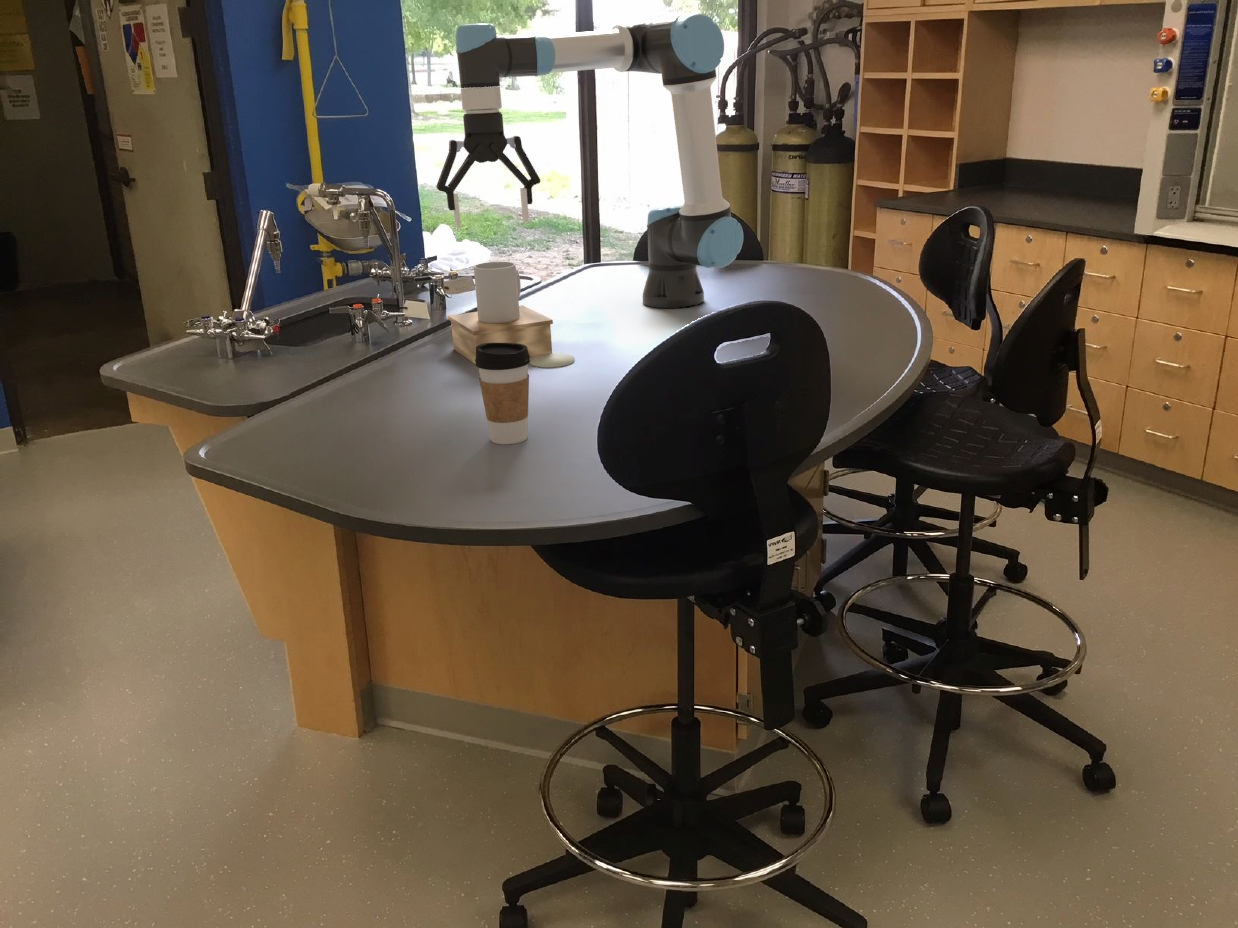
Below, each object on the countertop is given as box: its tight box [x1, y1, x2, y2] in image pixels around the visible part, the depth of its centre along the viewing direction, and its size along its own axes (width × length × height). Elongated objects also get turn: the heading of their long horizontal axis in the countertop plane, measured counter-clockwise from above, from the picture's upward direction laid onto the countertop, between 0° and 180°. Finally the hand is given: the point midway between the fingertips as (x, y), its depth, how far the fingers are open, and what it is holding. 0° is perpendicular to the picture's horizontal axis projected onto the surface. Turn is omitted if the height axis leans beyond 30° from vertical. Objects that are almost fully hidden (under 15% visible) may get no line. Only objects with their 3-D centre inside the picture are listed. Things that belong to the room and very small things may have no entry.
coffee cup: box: [475, 343, 531, 445], centre depth 157 cm, size 8×8×15 cm
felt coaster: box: [529, 352, 575, 369], centre depth 202 cm, size 9×9×1 cm
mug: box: [473, 261, 522, 324], centre depth 207 cm, size 12×8×11 cm
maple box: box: [447, 305, 554, 365], centre depth 210 cm, size 17×17×7 cm
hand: (492, 224), depth 201 cm, fingers open, 13 cm apart
